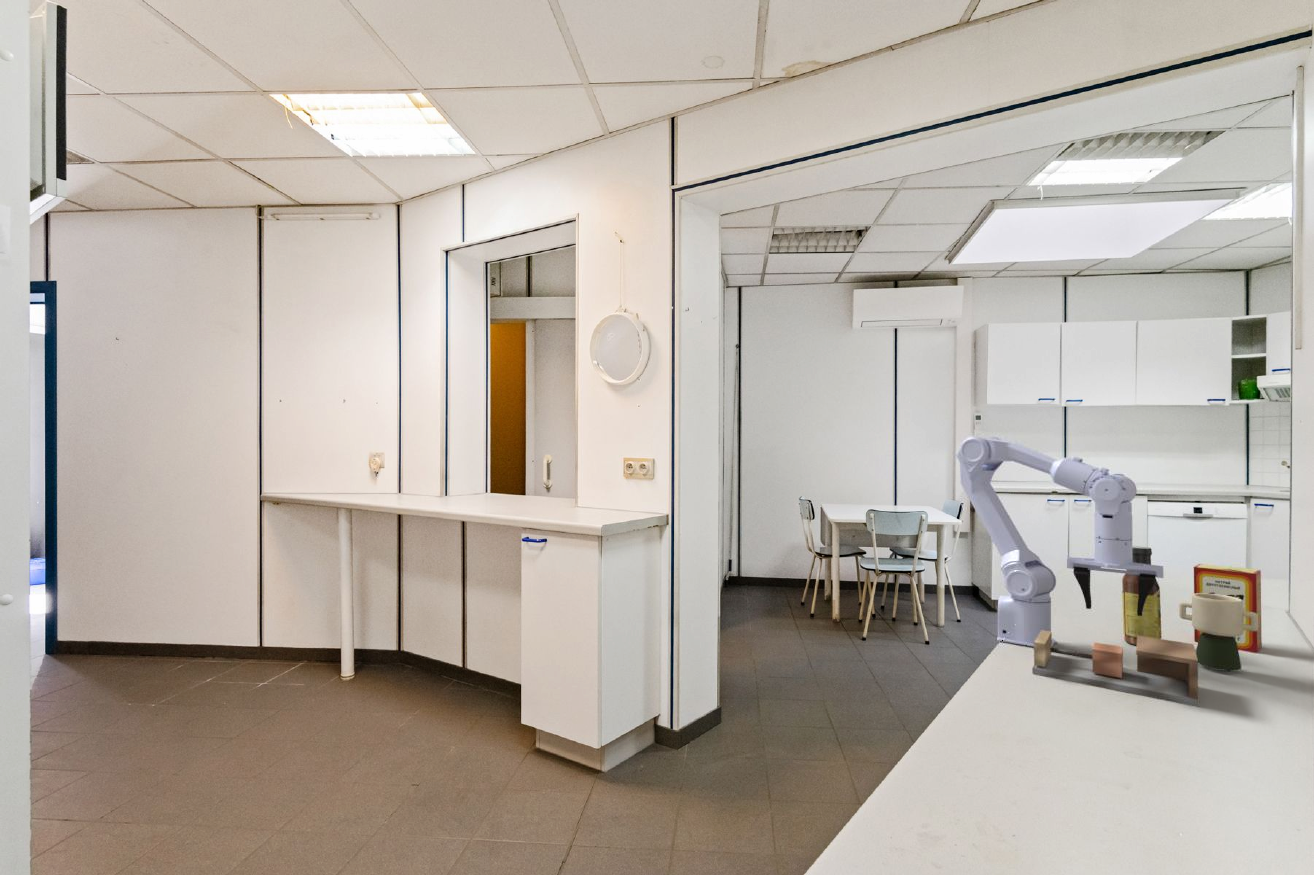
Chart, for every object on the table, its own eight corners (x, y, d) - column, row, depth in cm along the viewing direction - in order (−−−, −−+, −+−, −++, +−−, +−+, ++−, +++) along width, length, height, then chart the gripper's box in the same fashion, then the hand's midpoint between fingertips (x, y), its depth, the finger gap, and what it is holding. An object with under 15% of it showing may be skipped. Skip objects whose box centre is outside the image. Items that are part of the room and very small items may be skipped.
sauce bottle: (1168, 650, 124) (1167, 550, 124) (1133, 647, 125) (1132, 548, 126) (1149, 640, 130) (1148, 545, 131) (1116, 638, 131) (1115, 544, 132)
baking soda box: (1194, 641, 130) (1193, 565, 130) (1200, 636, 134) (1200, 562, 134) (1257, 653, 123) (1256, 572, 123) (1261, 647, 127) (1260, 568, 127)
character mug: (1263, 673, 111) (1262, 600, 111) (1254, 682, 106) (1253, 605, 107) (1185, 657, 119) (1184, 589, 120) (1173, 664, 115) (1173, 593, 116)
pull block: (1034, 665, 109) (1034, 642, 109) (1041, 652, 117) (1041, 630, 117) (1121, 682, 102) (1121, 657, 102) (1123, 666, 109) (1122, 643, 110)
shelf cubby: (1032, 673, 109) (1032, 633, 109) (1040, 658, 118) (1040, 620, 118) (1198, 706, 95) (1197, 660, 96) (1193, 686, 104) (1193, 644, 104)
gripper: (1065, 536, 118) (1065, 608, 117) (1163, 544, 109) (1164, 622, 109) (1068, 533, 123) (1068, 602, 123) (1162, 540, 114) (1163, 614, 114)
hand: (1113, 611), depth 116 cm, fingers open, 7 cm apart
